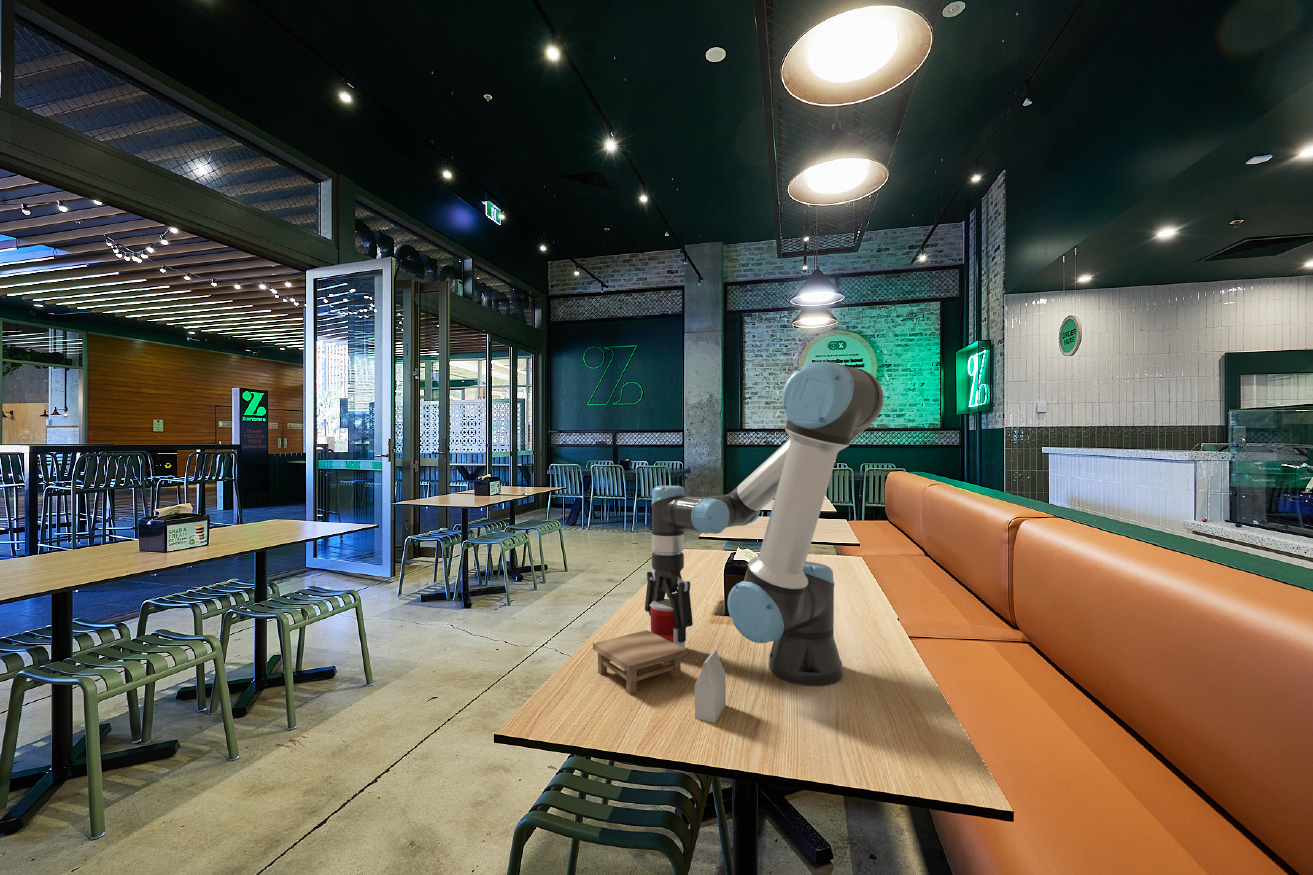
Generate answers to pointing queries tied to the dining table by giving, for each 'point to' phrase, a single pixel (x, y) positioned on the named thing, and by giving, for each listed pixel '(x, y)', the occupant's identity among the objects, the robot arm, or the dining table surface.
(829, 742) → the dining table surface
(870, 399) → the robot arm
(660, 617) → the canned food
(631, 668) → the stool
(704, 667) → the grey pointed block
